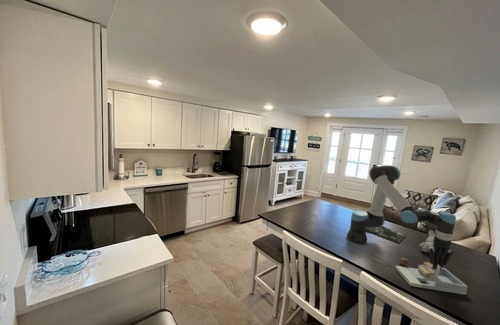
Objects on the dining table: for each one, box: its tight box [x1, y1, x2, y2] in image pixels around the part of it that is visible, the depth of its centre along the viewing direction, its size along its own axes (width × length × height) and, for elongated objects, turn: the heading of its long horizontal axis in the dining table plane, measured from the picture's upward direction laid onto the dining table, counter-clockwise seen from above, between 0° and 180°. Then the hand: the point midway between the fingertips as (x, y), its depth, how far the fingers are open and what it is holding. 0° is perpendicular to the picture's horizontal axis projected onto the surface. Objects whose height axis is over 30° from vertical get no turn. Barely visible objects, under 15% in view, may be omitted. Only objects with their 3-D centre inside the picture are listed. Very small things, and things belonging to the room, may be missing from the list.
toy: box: [418, 229, 435, 254], centre depth 160 cm, size 12×10×30 cm
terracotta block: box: [422, 261, 433, 267], centre depth 132 cm, size 4×4×4 cm
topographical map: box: [366, 225, 407, 244], centre depth 187 cm, size 26×33×3 cm
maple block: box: [417, 266, 436, 279], centre depth 124 cm, size 6×6×3 cm
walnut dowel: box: [399, 257, 409, 267], centre depth 134 cm, size 4×4×5 cm
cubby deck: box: [394, 264, 469, 296], centre depth 121 cm, size 28×16×5 cm, turn 81°
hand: (435, 274), depth 123 cm, fingers closed
